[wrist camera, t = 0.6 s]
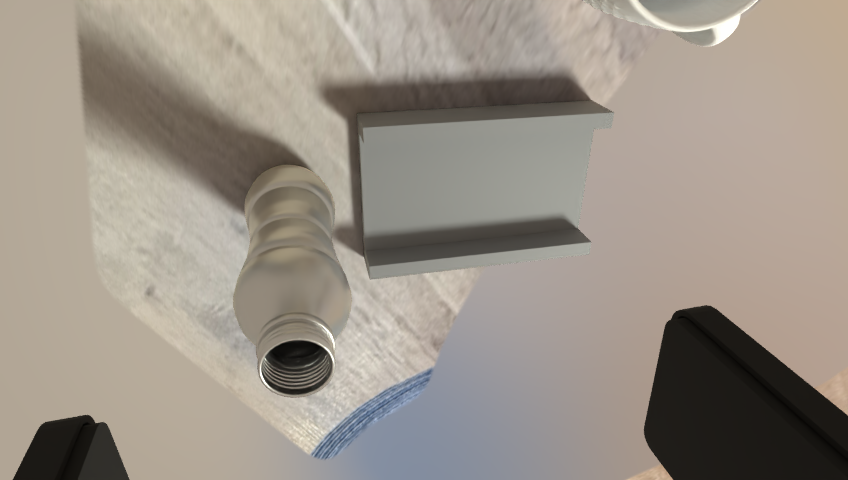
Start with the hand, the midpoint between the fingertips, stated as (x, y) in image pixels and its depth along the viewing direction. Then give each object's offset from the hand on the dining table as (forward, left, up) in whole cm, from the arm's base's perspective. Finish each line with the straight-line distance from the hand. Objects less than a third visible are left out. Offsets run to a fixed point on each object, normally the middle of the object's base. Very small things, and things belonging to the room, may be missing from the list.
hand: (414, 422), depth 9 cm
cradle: (+11, +12, -34) cm, 38 cm away
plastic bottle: (+11, -3, -34) cm, 36 cm away
